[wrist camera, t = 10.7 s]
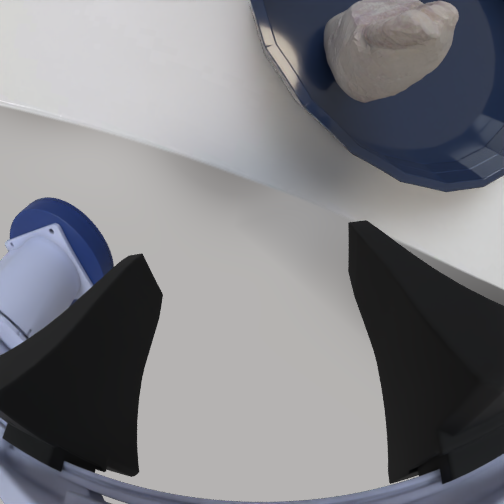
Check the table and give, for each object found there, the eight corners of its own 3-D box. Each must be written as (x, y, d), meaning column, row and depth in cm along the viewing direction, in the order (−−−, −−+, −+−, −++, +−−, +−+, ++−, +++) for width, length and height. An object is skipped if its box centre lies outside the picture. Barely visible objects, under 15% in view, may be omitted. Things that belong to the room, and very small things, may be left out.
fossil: (345, 100, 15) (431, 138, 7) (294, 72, 14) (336, 68, 6) (385, 31, 12) (494, 16, 3) (337, 1, 11) (413, -57, 3)
